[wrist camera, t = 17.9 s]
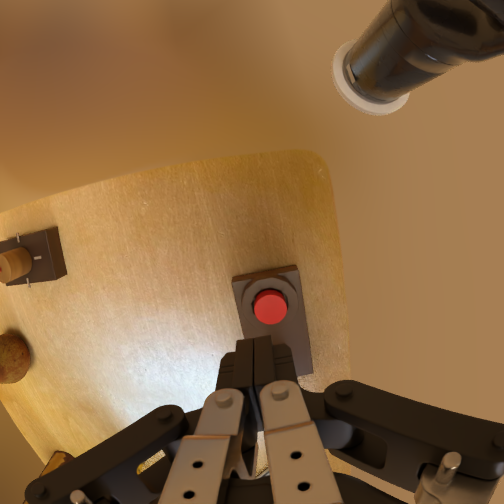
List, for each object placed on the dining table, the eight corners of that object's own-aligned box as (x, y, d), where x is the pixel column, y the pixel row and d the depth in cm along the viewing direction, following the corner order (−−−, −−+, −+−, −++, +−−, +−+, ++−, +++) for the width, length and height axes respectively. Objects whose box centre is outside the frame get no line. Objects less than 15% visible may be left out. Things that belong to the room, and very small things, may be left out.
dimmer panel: (56, 222, 37) (44, 225, 34) (68, 278, 38) (57, 284, 35) (7, 235, 37) (-6, 239, 34) (18, 284, 39) (6, 290, 36)
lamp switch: (251, 292, 35) (251, 297, 33) (282, 286, 35) (284, 291, 33) (257, 320, 35) (257, 327, 34) (287, 315, 35) (289, 321, 34)
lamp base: (232, 275, 38) (229, 285, 34) (295, 263, 38) (300, 271, 34) (255, 375, 41) (255, 391, 37) (311, 364, 41) (315, 381, 37)
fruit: (-1, 342, 42) (-37, 370, 30) (12, 318, 40) (-30, 346, 29) (27, 376, 43) (-6, 408, 31) (42, 355, 42) (5, 390, 30)
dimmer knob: (29, 245, 34) (5, 254, 29) (34, 273, 35) (12, 284, 30) (12, 247, 35) (-11, 255, 29) (17, 274, 35) (-5, 284, 30)
